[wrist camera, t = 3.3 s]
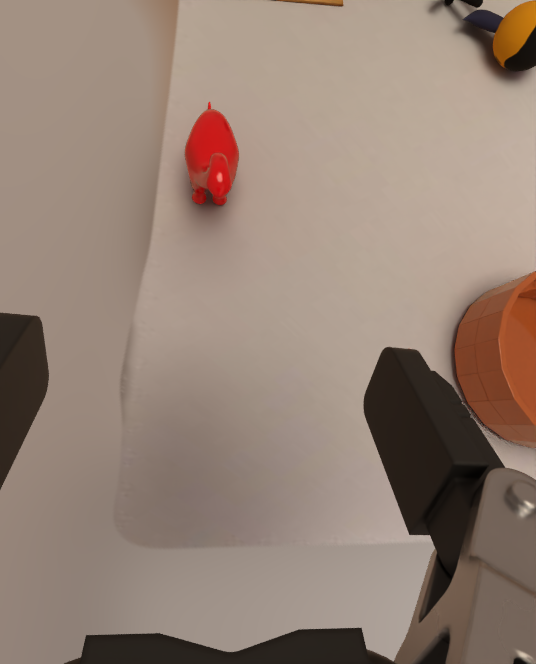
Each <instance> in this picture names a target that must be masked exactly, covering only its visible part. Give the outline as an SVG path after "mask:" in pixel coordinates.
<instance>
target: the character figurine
mask: <svg viewBox="0 0 536 664" xmlns="http://www.w3.org/2000/svg"><path fill="white" fill-rule="evenodd" d="M453 1H454V0H445V4H446V5H450V4H452V2H453ZM461 1H463V2H465V3H467V4H469V5H471V6H474V7H476V8H478V7H480V6H481V5H482V3H483V0H461ZM463 20H466V21H468V22H470V23H472V24H473V25H475V26H476V27H479V28H481V29H484V30H486V31H489V32H493V33H495V36H494V40H493V52H494V56H495V58H496V60H497V62H498V63H499V64H500V65H501V66H502V67H504V68H506V69H508V70H512V71H522V70H527V69H530V68H532V67H534V66H536V0H535V1H529V2H525V3H523V4H520V5H519V6H517V7H515V8H514V9H513V10H511V11H510V12H509V13H508V14H507V15H506V16H505V17H504V18H503V17H501V16H499V15H497V14H495V13H493V12H490V11H487V10H476V11H474V12H472V13H471V14H469V15H468V16H467V17H465V18H464V19H463Z"/></svg>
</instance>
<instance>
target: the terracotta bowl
mask: <svg viewBox="0 0 536 664" xmlns="http://www.w3.org/2000/svg"><path fill="white" fill-rule="evenodd" d="M454 350H455V351H454V352H455V361H456V371H457V376H458V377H457V378H458V380H459V383H460V385H461V388H462V390H463V393H464V395H465V398H466V400H467V402H468V404H469V405H470V406H471V408H472V409H473V410H474V412H475V413H476V414H477V416H478V417H479V418H480V420H481V421H482V422H483V423H484V424H485V425H486V426H487V427H489V428H490V429H491V430H493V431H494V432H496V433H497V434H498V435H500V436H501V437H502V438H504V439H505V440H508V441H511V442H514V443H517V444H520V445H523V446H526V447H530V448H536V271H535V272H532V273H530V274H528V275H525V276H523V277H521V278H518V279H516V280H513V281H511V282H509V283H506V284H504V285H502V286H499V287H497V288H494V289H492V290H490V291H488V292H486V293H485V294H484V295H482V296H481V297H480V298H479V299H478V300H476V301H475V302H474V303H473V304H472V305H471V306H470V307H469V309H468V311H467V312H466V314H465V316H464V318H463V319H462V321H461V323H460V325H459V328H458V333H457V338H456V343H455V348H454Z"/></svg>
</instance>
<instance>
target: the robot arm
mask: <svg viewBox="0 0 536 664" xmlns="http://www.w3.org/2000/svg"><path fill="white" fill-rule="evenodd" d="M48 380H49V371H48V363H47V356H46V349H45V341H44V335H43V327H42V322H41V320H40V318H39V317H38V316H30V315H20V314H9V313H0V489H1V487H2V485H3V483H4V481H5V479H6V477H7V474H8V472H9V470H10V468H11V466H12V464H13V462H14V460H15V458H16V456H17V454H18V452H19V449H20V448H21V446H22V444H23V441H24V439H25V437H26V435H27V433H28V431H29V429H30V427H31V425H32V423H33V421H34V419H35V417H36V415H37V412H38V410H39V408H40V406H41V404H42V402H43V400H44V398H45V395H46V392H47V387H48ZM364 414H365V418H366V421H367V423H368V426H369V429H370V431H371V434H372V437H373V439H374V442H375V444H376V447H377V450H378V452H379V455H380V458H381V460H382V463H383V466H384V468H385V471H386V474H387V476H388V479H389V482H390V484H391V487H392V490H393V492H394V495H395V498H396V500H397V503H398V506H399V508H400V511H401V514H402V516H403V519H404V522H405V524H406V527H407V530H408V532H409V535H430V536H431V539H432V541H433V544H434V546H435V550H434V551H433V553H432V555H431V558H430V561H429V564H428V568H427V571H426V575H425V578H424V581H423V584H422V588H421V591H420V595H419V598H418V601H417V605H416V607H415V611H414V615H413V618H412V621H411V624H410V627H409V630H408V633H407V635H406V638H405V640H404V642H403V644H402V646H401V647H400V649H399V651H398V653H397V655H396V658H395V660H394V662H393V661H391V660H389V659H388V658H386V657H384V656H381V655H379V654H377V653H375V652H373V651H370V650H367V649H366V645H365V642H364V637H363V633H362V628H340V629H304V630H303V629H302V630H297V631H294V632H291V633H288V634H285V635H282V636H280V637H277V638H274V639H271V640H269V641H266V642H263V643H260V644H257V645H254V646H252V647H249V648H246V649H243V650H240V651H237V652H225V651H221V650H217V649H213V648H210V647H206V646H203V645H199V644H196V643H192V642H189V641H185V640H181V639H178V638H174V637H170V636H167V635H163V634H160V633H155V634H121V635H120V634H118V635H86V639H85V643H84V647H83V652H82V656H81V658H78V659H75V660H72V661H69V662H67V663H64V664H536V480H535V479H533V478H532V477H530V476H528V475H527V474H524V473H522V472H520V471H517V470H514V469H509V468H505V466H504V465H503V463H502V462H501V460H500V459H499V457H498V456H497V454H496V453H495V451H494V450H493V448H492V447H491V445H490V443H489V442H488V440H487V439H486V437H485V436H484V434H483V433H482V431H481V430H480V428H479V427H478V425H477V424H476V422H475V421H474V419H473V418H471V417H470V415H471V414H470V413H469V411H468V410H467V408H466V407H465V405H462V401H461V399H460V398H459V396H458V395H457V393H456V392H455V390H454V388H453V387H452V385H450V384H449V383H448V382H447V381H446V380H445V379H443V378H442V377H441V376H440V375H439V374H438V373H437V372H435V371H431V370H430V368H429V367H428V365H427V364H426V362H425V360H424V359H423V357H422V356H421V354H420V353H419V351H417V350H414V349H403V348H392V347H386V348H385V349H384V350H383V351H382V352H381V355H380V357H379V360H378V362H377V365H376V367H375V370H374V372H373V375H372V377H371V380H370V382H369V385H368V387H367V390H366V393H365V396H364Z"/></svg>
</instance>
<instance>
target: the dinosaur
mask: <svg viewBox="0 0 536 664" xmlns="http://www.w3.org/2000/svg"><path fill="white" fill-rule="evenodd" d="M185 160H186V164H187V169H188V173H189V178H190V183H191V186H192V188H193V190H194V193H193V195H192V200H193V201H194V202H195V203H198V204H202V203H204V202H206V200H207V197H206V194H205V192H206V190H209V191H210V192H211V193H212V194H213V197H212V200H213V202H214V203H215V204H217V205H223V204H225V203H226V201H227V197H226V194H227V193H228V192H229V191H230V189H231V187H232V184H233V181H234V179H235V176H236V171H237V166H238V161H239V150H238V146H237V143H236V140H235V137H234V134H233V132H232V129H231V127H230V125H229V123H228V121H227V119H226V118H225V117H224V115H223V114H221V113H220V112H219V111H217V110H214V109H211V104H210V102H209V103H208V110H206V111H204V112H203V113H202V114H201V115H200V116H199V118H198V119H197V121H196V122H195V124H194V126H193V128H192V130H191V132H190V135H189V138H188V140H187V144H186V147H185Z"/></svg>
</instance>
